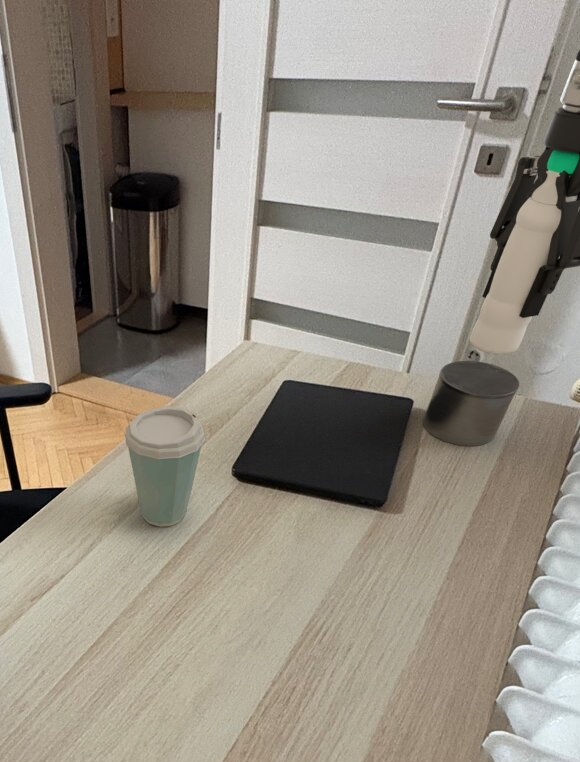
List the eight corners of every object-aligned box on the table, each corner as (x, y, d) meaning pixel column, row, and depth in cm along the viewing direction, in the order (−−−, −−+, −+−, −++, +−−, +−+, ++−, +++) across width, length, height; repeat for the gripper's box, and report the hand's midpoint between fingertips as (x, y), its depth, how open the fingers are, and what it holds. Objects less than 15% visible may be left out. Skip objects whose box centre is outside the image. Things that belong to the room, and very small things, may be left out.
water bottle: (527, 353, 93) (620, 152, 75) (484, 358, 92) (567, 156, 74) (500, 334, 98) (582, 140, 79) (459, 338, 97) (531, 143, 79)
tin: (488, 412, 108) (510, 363, 102) (502, 449, 101) (527, 398, 94) (418, 406, 110) (435, 358, 104) (426, 442, 102) (445, 392, 96)
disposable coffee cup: (140, 543, 86) (139, 451, 76) (116, 499, 93) (113, 409, 83) (210, 526, 89) (219, 434, 78) (181, 484, 96) (186, 395, 85)
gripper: (506, 97, 80) (444, 285, 96) (638, 125, 67) (539, 337, 83) (553, 93, 81) (483, 278, 98) (691, 120, 68) (583, 328, 85)
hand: (509, 305), depth 91 cm, fingers closed on water bottle, 7 cm apart
